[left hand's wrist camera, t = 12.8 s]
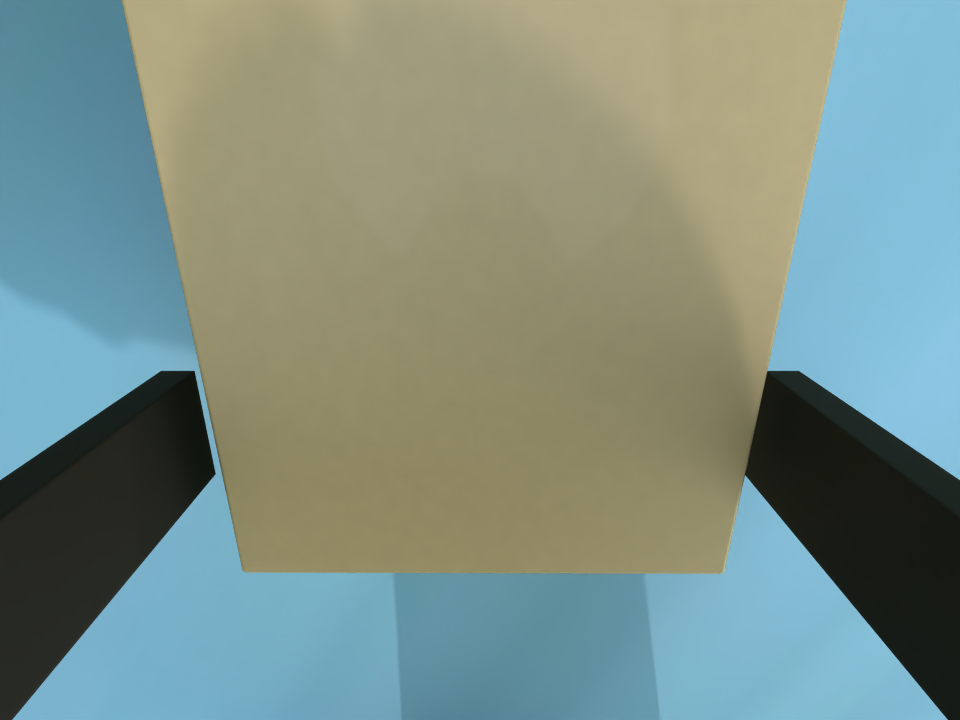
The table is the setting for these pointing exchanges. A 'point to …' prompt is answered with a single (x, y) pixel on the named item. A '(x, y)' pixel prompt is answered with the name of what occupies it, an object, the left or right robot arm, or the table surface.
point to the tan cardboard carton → (483, 267)
